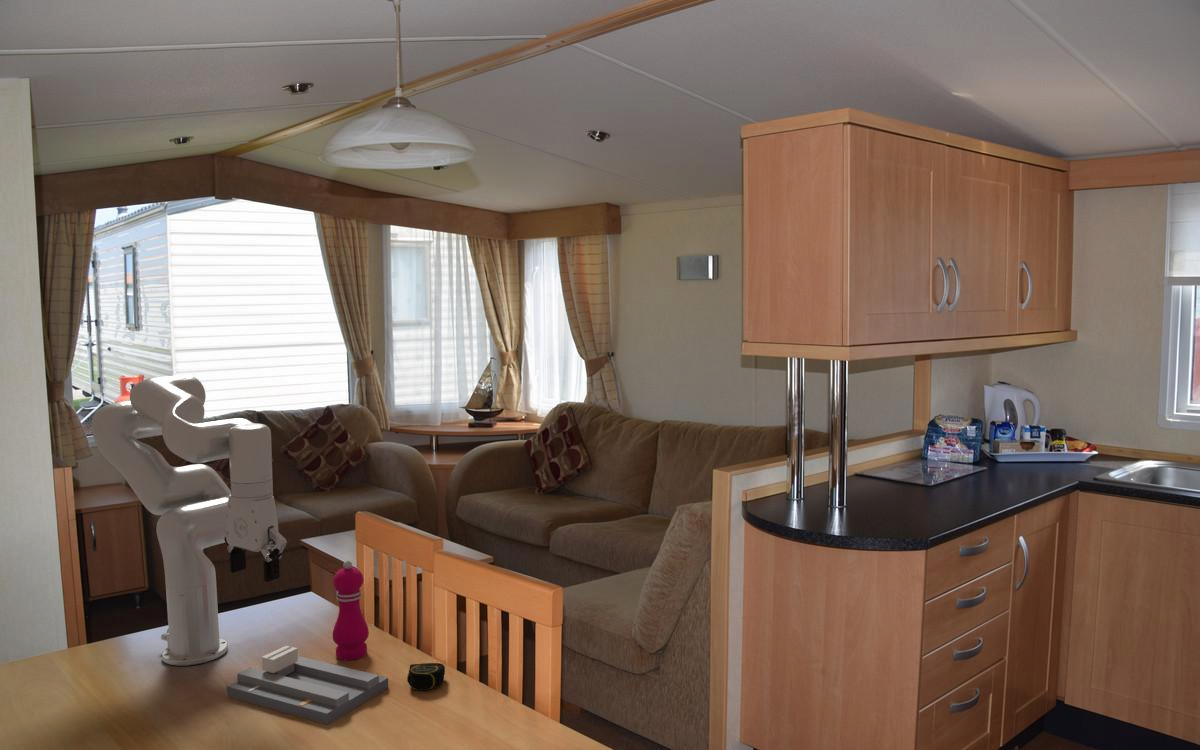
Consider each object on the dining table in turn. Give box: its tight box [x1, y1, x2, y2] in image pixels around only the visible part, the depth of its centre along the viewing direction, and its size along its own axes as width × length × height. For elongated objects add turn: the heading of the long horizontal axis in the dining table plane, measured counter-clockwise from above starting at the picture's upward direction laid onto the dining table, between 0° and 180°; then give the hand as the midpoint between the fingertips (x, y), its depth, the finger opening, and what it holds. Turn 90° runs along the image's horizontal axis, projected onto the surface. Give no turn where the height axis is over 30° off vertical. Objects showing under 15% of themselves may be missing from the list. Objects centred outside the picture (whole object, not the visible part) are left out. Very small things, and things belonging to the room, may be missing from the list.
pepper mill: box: [332, 560, 370, 661], centre depth 188 cm, size 7×7×20 cm
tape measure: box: [406, 662, 446, 691], centre depth 173 cm, size 7×7×4 cm
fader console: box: [226, 655, 389, 725], centre depth 171 cm, size 25×16×4 cm, turn 63°
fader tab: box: [261, 645, 299, 676], centre depth 174 cm, size 3×6×4 cm, turn 153°
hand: (254, 575), depth 176 cm, fingers open, 9 cm apart
